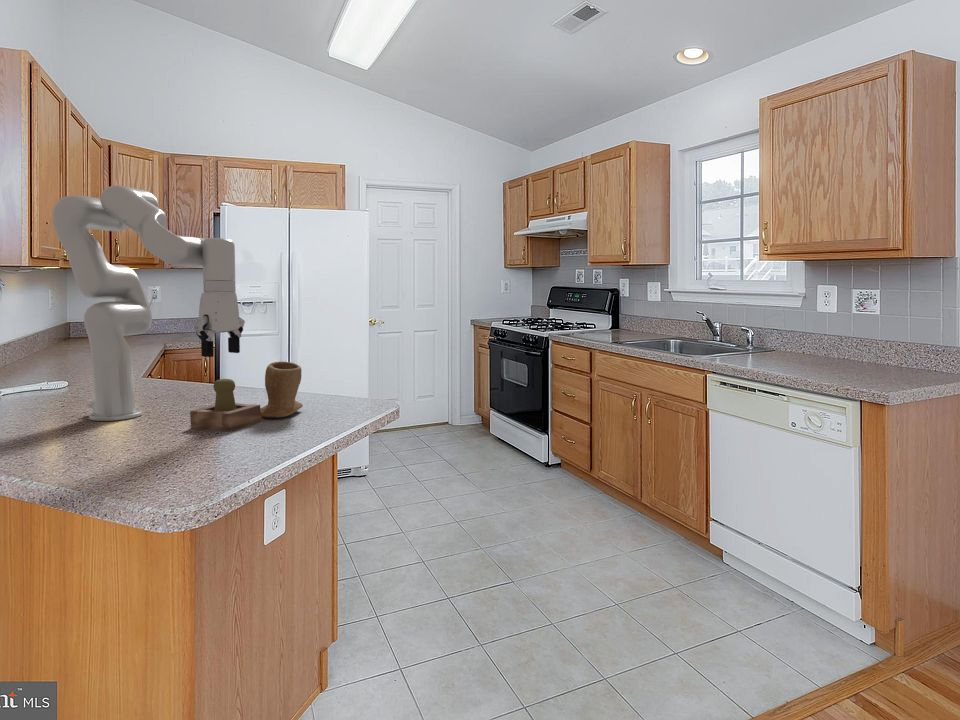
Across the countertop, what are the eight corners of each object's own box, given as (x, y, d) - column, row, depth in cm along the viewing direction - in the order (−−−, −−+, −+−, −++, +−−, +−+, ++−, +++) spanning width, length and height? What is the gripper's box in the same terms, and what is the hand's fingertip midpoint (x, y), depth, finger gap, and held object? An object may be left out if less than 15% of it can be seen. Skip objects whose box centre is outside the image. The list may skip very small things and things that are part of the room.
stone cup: (292, 421, 165) (290, 365, 163) (250, 420, 166) (248, 365, 164) (313, 410, 180) (312, 359, 178) (274, 409, 181) (272, 358, 179)
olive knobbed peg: (229, 423, 157) (227, 381, 156) (208, 422, 158) (206, 380, 157) (243, 418, 163) (241, 377, 162) (222, 418, 164) (220, 377, 163)
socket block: (190, 428, 157) (189, 410, 156) (223, 418, 168) (222, 402, 167) (230, 431, 153) (229, 413, 152) (261, 421, 164) (260, 404, 164)
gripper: (230, 287, 166) (231, 350, 168) (181, 287, 149) (184, 357, 151) (254, 288, 163) (255, 352, 166) (207, 288, 147) (209, 359, 149)
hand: (221, 354), depth 158 cm, fingers open, 9 cm apart
